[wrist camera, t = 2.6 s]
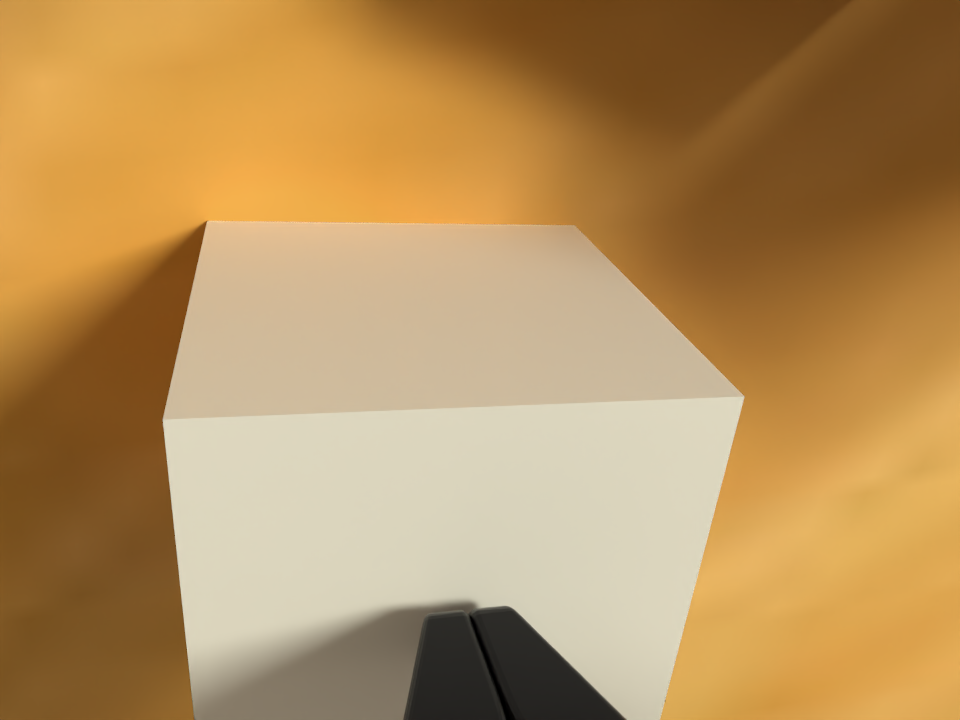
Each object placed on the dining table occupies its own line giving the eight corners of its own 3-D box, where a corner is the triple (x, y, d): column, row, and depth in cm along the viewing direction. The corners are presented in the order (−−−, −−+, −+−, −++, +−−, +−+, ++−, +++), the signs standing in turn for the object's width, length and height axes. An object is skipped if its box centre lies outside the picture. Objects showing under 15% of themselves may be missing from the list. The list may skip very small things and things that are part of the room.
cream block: (534, 505, 14) (648, 763, 10) (228, 526, 13) (205, 828, 9) (572, 223, 12) (744, 397, 8) (207, 219, 11) (162, 419, 6)
